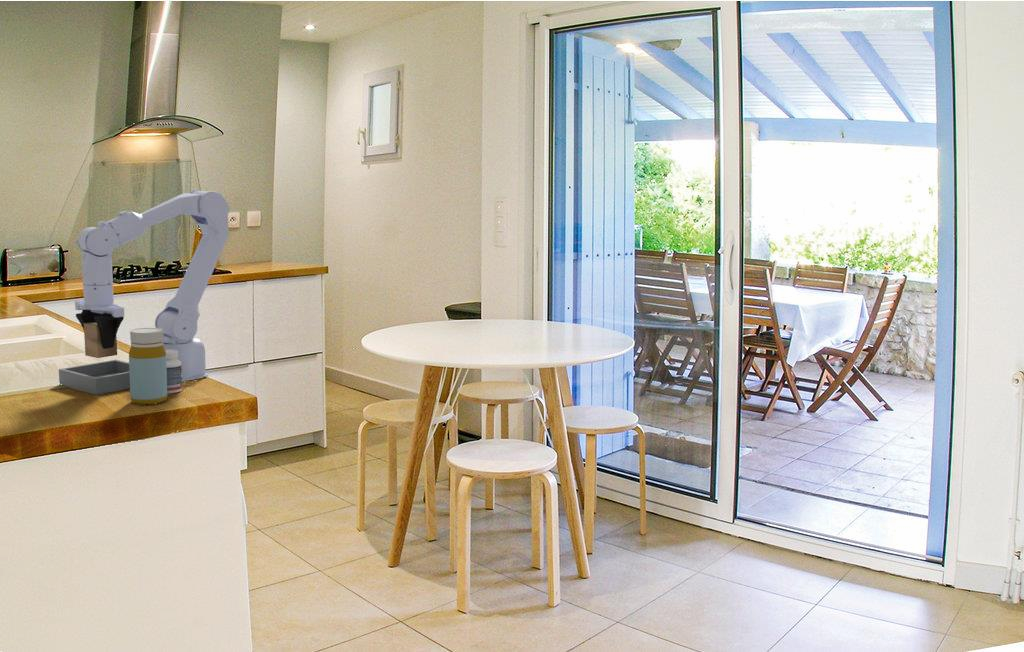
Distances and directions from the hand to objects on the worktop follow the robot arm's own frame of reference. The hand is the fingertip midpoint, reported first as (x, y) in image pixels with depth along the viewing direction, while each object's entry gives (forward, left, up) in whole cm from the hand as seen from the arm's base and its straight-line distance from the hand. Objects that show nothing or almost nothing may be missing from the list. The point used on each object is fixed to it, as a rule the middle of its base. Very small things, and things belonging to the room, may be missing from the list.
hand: (101, 346), depth 180 cm
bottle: (0, +16, -10) cm, 19 cm away
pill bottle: (-8, +12, -10) cm, 17 cm away
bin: (-3, -3, -9) cm, 10 cm away
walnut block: (0, 0, -2) cm, 2 cm away
